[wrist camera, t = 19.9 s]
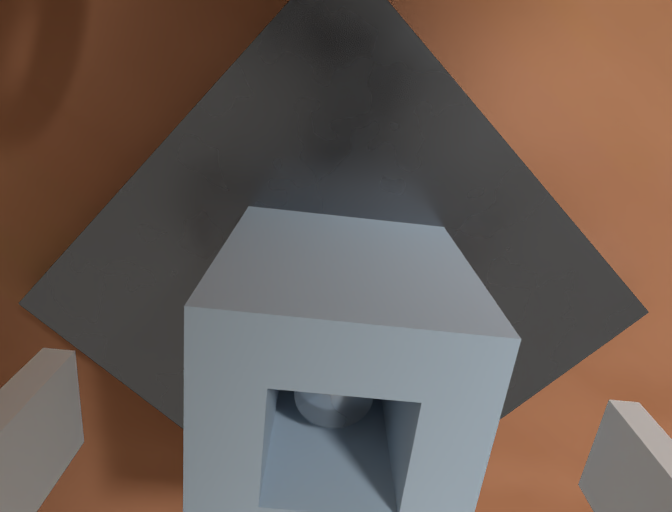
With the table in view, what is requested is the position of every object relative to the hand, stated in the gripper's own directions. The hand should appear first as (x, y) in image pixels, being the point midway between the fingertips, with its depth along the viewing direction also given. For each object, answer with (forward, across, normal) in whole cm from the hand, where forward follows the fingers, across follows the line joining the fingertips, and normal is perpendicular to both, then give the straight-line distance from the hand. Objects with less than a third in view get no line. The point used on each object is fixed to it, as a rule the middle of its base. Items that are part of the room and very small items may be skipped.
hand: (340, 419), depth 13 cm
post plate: (+8, 0, 0) cm, 8 cm away
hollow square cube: (+7, 0, -3) cm, 7 cm away
